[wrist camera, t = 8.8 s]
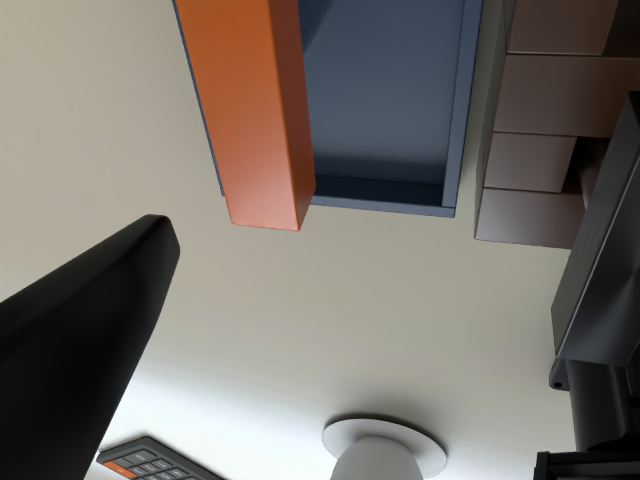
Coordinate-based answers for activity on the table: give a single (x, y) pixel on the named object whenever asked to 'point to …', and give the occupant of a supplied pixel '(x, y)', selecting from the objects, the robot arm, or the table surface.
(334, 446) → the teacup
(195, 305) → the table surface
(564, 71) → the rack
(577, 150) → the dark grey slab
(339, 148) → the tray
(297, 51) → the t handle
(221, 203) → the table surface
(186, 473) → the calculator
